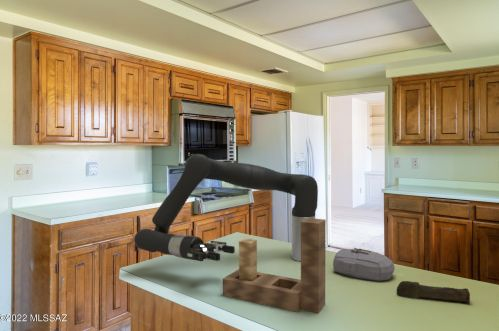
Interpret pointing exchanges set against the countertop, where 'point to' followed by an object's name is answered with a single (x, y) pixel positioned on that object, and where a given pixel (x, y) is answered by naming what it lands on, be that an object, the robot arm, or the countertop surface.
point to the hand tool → (432, 292)
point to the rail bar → (248, 259)
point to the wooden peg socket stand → (289, 289)
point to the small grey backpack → (363, 264)
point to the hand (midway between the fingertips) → (227, 253)
